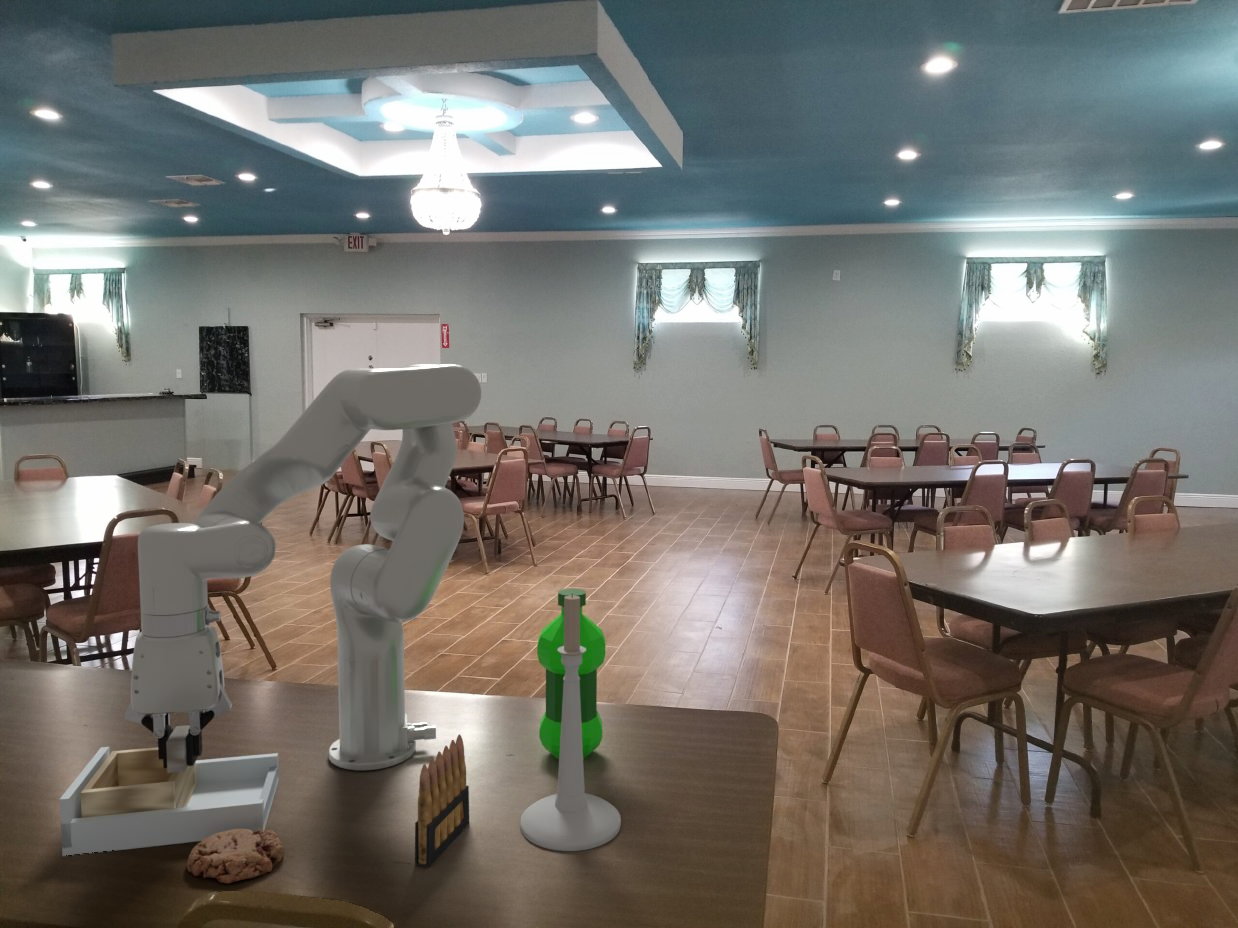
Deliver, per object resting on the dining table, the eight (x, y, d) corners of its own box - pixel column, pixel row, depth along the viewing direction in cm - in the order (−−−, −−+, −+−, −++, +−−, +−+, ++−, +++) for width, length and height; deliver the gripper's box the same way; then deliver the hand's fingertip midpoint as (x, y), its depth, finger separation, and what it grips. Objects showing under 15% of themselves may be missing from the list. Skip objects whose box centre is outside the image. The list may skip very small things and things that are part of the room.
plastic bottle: (550, 736, 136) (550, 581, 134) (613, 744, 133) (615, 587, 131) (525, 763, 127) (526, 597, 124) (594, 773, 124) (595, 603, 121)
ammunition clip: (456, 820, 110) (456, 730, 109) (469, 822, 110) (469, 732, 108) (414, 865, 100) (413, 766, 99) (428, 868, 99) (427, 768, 98)
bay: (278, 780, 120) (277, 732, 120) (263, 833, 106) (261, 779, 106) (103, 797, 115) (101, 747, 114) (62, 856, 101) (59, 799, 100)
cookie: (197, 846, 104) (196, 822, 104) (290, 836, 106) (290, 813, 106) (175, 894, 94) (174, 868, 94) (278, 882, 97) (277, 857, 96)
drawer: (201, 784, 117) (198, 714, 116) (180, 828, 105) (177, 751, 104) (114, 793, 114) (110, 721, 113) (82, 839, 103) (78, 760, 102)
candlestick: (622, 800, 116) (624, 582, 113) (619, 852, 103) (622, 607, 100) (527, 798, 116) (527, 580, 113) (513, 849, 104) (513, 605, 101)
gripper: (248, 610, 114) (252, 744, 116) (114, 617, 110) (121, 756, 112) (238, 626, 107) (243, 769, 108) (94, 634, 103) (101, 782, 105)
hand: (181, 761), depth 110 cm, fingers closed on drawer, 2 cm apart
